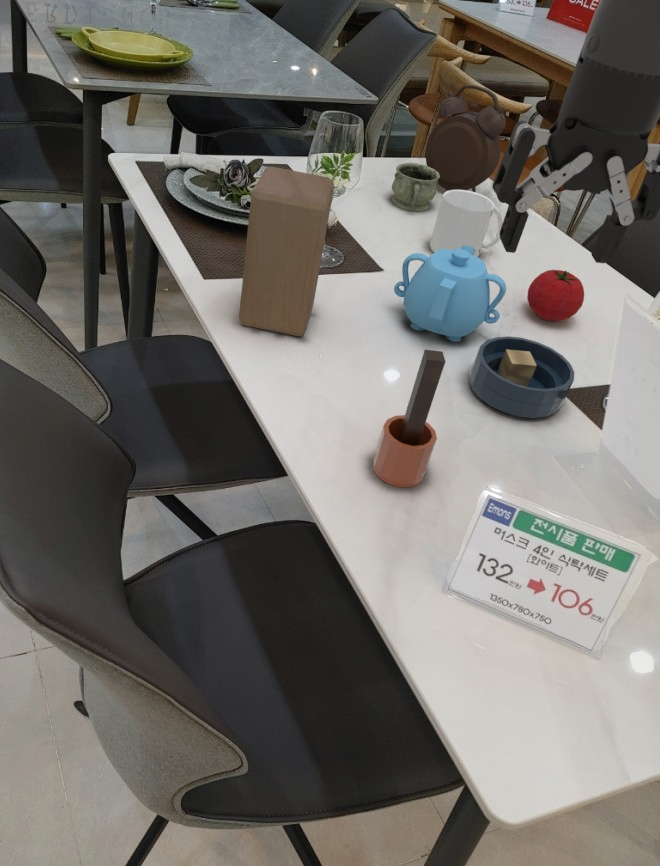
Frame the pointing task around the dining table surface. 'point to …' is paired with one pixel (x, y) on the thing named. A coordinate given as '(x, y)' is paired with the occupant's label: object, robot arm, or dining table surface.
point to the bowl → (514, 398)
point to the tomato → (555, 295)
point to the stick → (421, 397)
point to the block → (517, 366)
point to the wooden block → (284, 249)
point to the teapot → (449, 292)
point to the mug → (464, 221)
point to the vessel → (414, 186)
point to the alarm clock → (465, 142)
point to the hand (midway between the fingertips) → (552, 254)
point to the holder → (402, 455)
